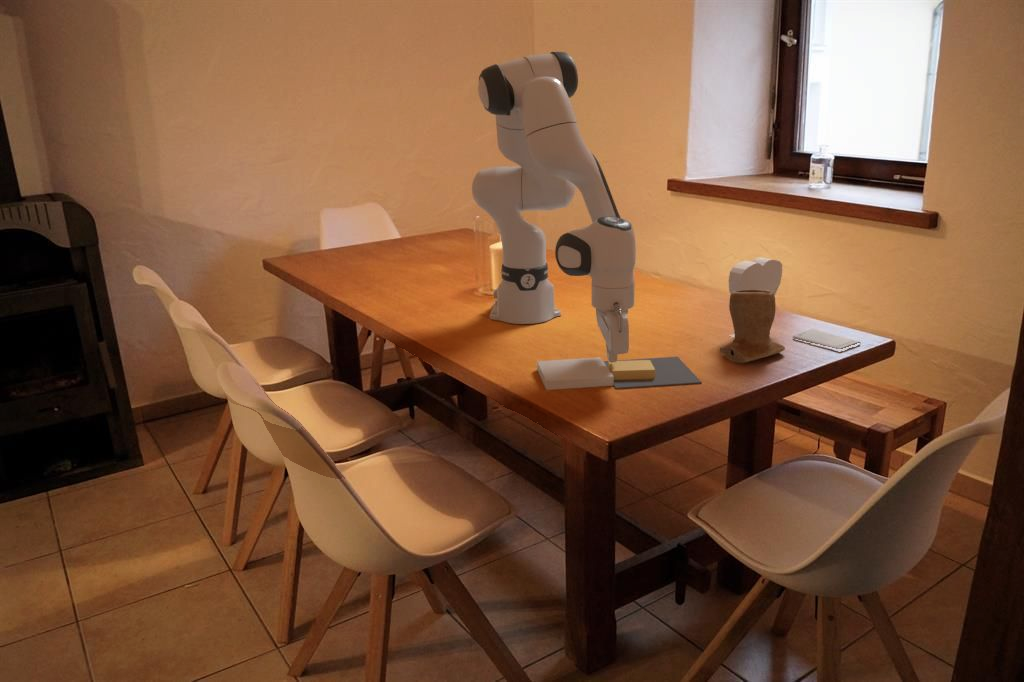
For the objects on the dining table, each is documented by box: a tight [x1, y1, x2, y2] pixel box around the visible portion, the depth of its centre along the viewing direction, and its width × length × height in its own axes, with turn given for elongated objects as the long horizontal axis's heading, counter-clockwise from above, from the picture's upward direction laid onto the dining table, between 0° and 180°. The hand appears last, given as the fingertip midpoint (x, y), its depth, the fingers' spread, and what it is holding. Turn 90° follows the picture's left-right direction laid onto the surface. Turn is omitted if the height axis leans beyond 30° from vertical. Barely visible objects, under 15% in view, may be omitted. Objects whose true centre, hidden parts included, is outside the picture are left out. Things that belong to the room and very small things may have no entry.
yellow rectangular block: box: [607, 360, 655, 380], centre depth 177 cm, size 9×6×2 cm, turn 91°
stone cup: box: [719, 289, 786, 364], centre depth 185 cm, size 15×12×15 cm
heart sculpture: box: [728, 256, 783, 338], centre depth 200 cm, size 16×5×18 cm, turn 127°
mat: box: [603, 356, 703, 390], centre depth 178 cm, size 16×18×1 cm
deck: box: [536, 356, 614, 391], centre depth 176 cm, size 12×14×2 cm
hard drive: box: [792, 328, 861, 349], centre depth 195 cm, size 2×8×12 cm
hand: (611, 360), depth 177 cm, fingers closed
